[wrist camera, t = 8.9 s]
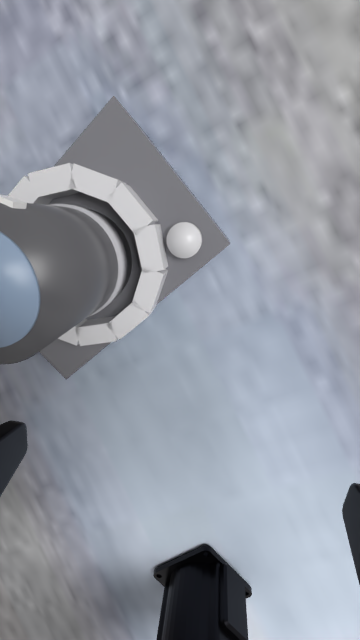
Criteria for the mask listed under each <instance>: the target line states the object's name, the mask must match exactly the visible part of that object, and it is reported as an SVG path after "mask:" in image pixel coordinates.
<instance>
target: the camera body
mask: <svg viewBox="0 0 360 640" xmlns="http://www.w3.org/2000/svg"><path fill="white" fill-rule="evenodd" d="M8 196H10V197H12V198H15V199H18V200H20V201H23V202H25V203H33V204H43V205H51V204H68V205H76V206H82V207H85V208H88V209H90V210H94V211H97V212H99V213H101V214H104V215H105V216H107V217H108V218H110V219H111V220H112V221H113V222H114V223H115V224H116V225H117V226H118V227H119V228H120V229H121V231H122V232H123V234H124V235H125V237H126V239H127V241H128V244H129V247H130V250H131V256H132V269H131V274H130V278H129V280H128V283H127V284H126V286H125V288H124V289H123V290H122V292H121V293H120V294H119V295H118V296H117V297H116V299H115V300H114V301H113V302H112V303H110V304H109V305H108V306H106V307H105V308H103V309H102V310H101V311H99V312H98V313H96V314H94V315H92V316H89V317H87V318H86V319H84V320H83V321H81V322H80V323H79V324H77V325H76V326H74V327H73V328H72V329H70V330H69V331H67V332H66V333H65V334H63V335H62V336H60V337H59V338H58V339H56V340H55V341H53V342H52V343H51V344H49V345H48V346H46V347H45V348H43V349H42V350H41V351H39V352H40V353H41V354H42V355H43V356H44V357H45V358H46V360H47V361H48V362H49V363H50V364H51V365H52V366H53V367H54V368H55V369H56V370H57V371H58V372H59V373H60V374H61V375H62V376H63V377H64V378H65V379H67V378H69V377H70V376H71V375H72V374H73V373H75V372H76V371H77V370H78V369H79V368H81V367H82V366H83V365H84V364H85V363H87V362H88V361H89V360H90V359H92V358H93V357H94V356H95V355H96V354H98V353H99V352H100V351H101V350H102V349H104V348H105V347H106V346H107V345H108V344H110V343H111V342H115V341H117V340H118V339H119V340H120V339H122V338H123V337H124V336H125V335H126V334H128V333H129V332H130V331H131V330H133V329H134V328H135V327H136V326H137V325H139V324H140V323H141V322H142V321H144V320H145V319H146V318H147V317H148V316H149V315H150V314H151V313H152V311H153V310H154V308H155V307H156V305H157V304H158V303H159V302H160V301H162V300H163V299H164V298H165V297H166V296H168V295H169V294H170V293H171V292H173V291H174V290H175V289H176V288H177V287H179V286H180V285H181V284H182V283H183V282H185V281H186V280H187V279H188V278H189V277H191V276H192V275H193V274H194V273H195V272H197V271H198V270H199V269H200V268H202V267H203V266H204V265H205V264H206V263H208V262H209V261H210V260H211V259H212V258H214V257H215V256H216V255H217V254H218V253H220V252H221V251H222V250H223V249H224V248H226V247H227V246H228V245H229V244H230V242H229V240H228V238H227V237H226V236H225V234H224V233H223V232H222V231H221V229H220V228H219V227H218V225H217V224H216V223H215V222H214V220H213V219H212V218H211V217H210V215H209V214H208V213H207V211H206V210H205V209H204V208H203V206H202V205H201V204H200V203H199V201H198V200H197V199H196V197H195V196H194V195H193V194H192V192H191V191H190V190H189V189H188V187H187V186H186V185H185V183H184V182H183V181H182V180H181V178H180V177H179V176H178V175H177V173H176V172H175V171H174V169H173V168H172V167H171V166H170V164H169V163H168V162H167V161H166V159H165V158H164V157H163V155H162V154H161V153H160V152H159V150H158V149H157V148H156V147H155V145H154V144H153V143H152V141H151V140H150V139H149V138H148V136H147V135H146V134H145V133H144V131H143V130H142V129H141V127H140V126H139V125H138V124H137V122H136V121H135V120H134V119H133V118H132V117H131V115H130V114H129V113H128V112H127V111H126V110H125V108H124V107H123V106H122V105H121V104H120V103H119V101H118V100H117V99H116V98H115V97H114V96H113V97H112V98H111V99H110V101H109V102H108V103H107V104H106V105H105V107H104V108H103V109H102V110H101V111H100V112H99V114H98V115H97V116H96V117H95V118H94V120H93V121H92V122H91V123H90V124H89V125H88V127H87V128H86V129H85V130H84V131H83V133H82V134H81V135H80V136H79V137H78V138H77V140H76V141H75V142H74V143H73V144H72V146H71V147H70V148H69V149H68V150H67V151H66V153H65V154H64V155H63V156H62V157H61V159H60V160H59V161H58V162H57V163H56V164H55V166H54V167H51V168H47V169H43V170H39V171H35V172H32V173H28V176H24V177H23V178H22V179H21V180H20V181H19V183H18V184H17V185H16V186H15V188H14V189H13V190H12V191H11V192H10V194H9V195H8Z"/></svg>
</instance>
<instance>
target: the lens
mask: <svg viewBox="0 0 360 640" xmlns="http://www.w3.org/2000/svg"><path fill="white" fill-rule="evenodd" d="M131 269H132V256H131V250H130V247H129V244H128V241H127V239H126V237H125V235H124V234H123V232H122V231H121V229H120V228H119V227H118V226H117V225H116V224H115V223H114V222H113V221H112V220H111V219H110V218H108V217H107V216H105V215H104V214H101V213H99V212H97V211H94V210H90V209H88V208H85V207H82V206H76V205H68V204H51V205H43V204H33V203H25V202H23V201H20V200H18V199H15V198H12V197H10V196H6V195H0V364H11V363H17V362H20V361H23V360H26V359H28V358H30V357H32V356H34V355H35V354H36V353H38V352H39V351H41V350H42V349H43V348H45V347H46V346H48V345H49V344H51V343H52V342H53V341H55V340H56V339H58V338H59V337H60V336H62V335H63V334H65V333H66V332H67V331H69V330H70V329H72V328H73V327H74V326H76V325H77V324H79V323H80V322H81V321H83V320H84V319H86V318H87V317H89V316H92V315H94V314H96V313H98V312H99V311H101V310H102V309H103V308H105V307H106V306H108V305H109V304H110V303H112V302H113V301H114V300H115V299H116V297H117V296H118V295H119V294H120V293H121V292H122V290H123V289H124V288H125V286H126V284H127V283H128V280H129V278H130V274H131Z"/></svg>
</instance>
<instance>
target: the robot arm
mask: <svg viewBox="0 0 360 640" xmlns="http://www.w3.org/2000/svg"><path fill="white" fill-rule="evenodd" d="M27 446H28V444H27V428H26V425H25V423H23V422H18V421H8V422H5V423H3V424H1V425H0V496H1V495H2V493H3V491H4V489H5V488H6V486H7V484H8V483H9V481H10V479H11V478H12V476H13V474H14V473H15V471H16V469H17V468H18V466H19V464H20V463H21V461H22V459H23V457H24V456H25V454H26V451H27ZM342 513H343V519H344V523H345V527H346V531H347V536H348V540H349V544H350V548H351V552H352V556H353V560H354V564H355V568H356V572H357V576H358V580H359V584H360V484H357V483H353V484H352V485H351V486H350V488H349V490H348V493H347V496H346V499H345V501H344V504H343V509H342ZM154 577H155V578H156V579H157V580H158V581H159V582H160V583H161V584H162V585H163V586H164V587H165V588H164V595H163V601H162V608H161V614H160V621H159V627H158V634H157V640H248V629H247V613H246V598H248V597H250V596H251V595H252V591H251V587H250V586H249V585H248V584H247V583H246V582H245V581H244V580H243V579H242V578H241V577H240V576H239V575H238V574H237V573H236V572H235V571H234V570H233V569H232V568H231V567H230V566H229V565H228V564H227V563H226V562H225V561H224V560H223V559H222V558H221V557H220V556H219V555H218V554H217V553H216V552H215V551H214V550H213V549H212V548H211V547H210V546H202V547H200V548H198V549H196V550H193V551H191V552H189V553H187V554H185V555H183V556H181V557H178V558H176V559H174V560H172V561H170V562H168V563H166V564H163V565H161V566H159V567H157V568H155V570H154Z"/></svg>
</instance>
